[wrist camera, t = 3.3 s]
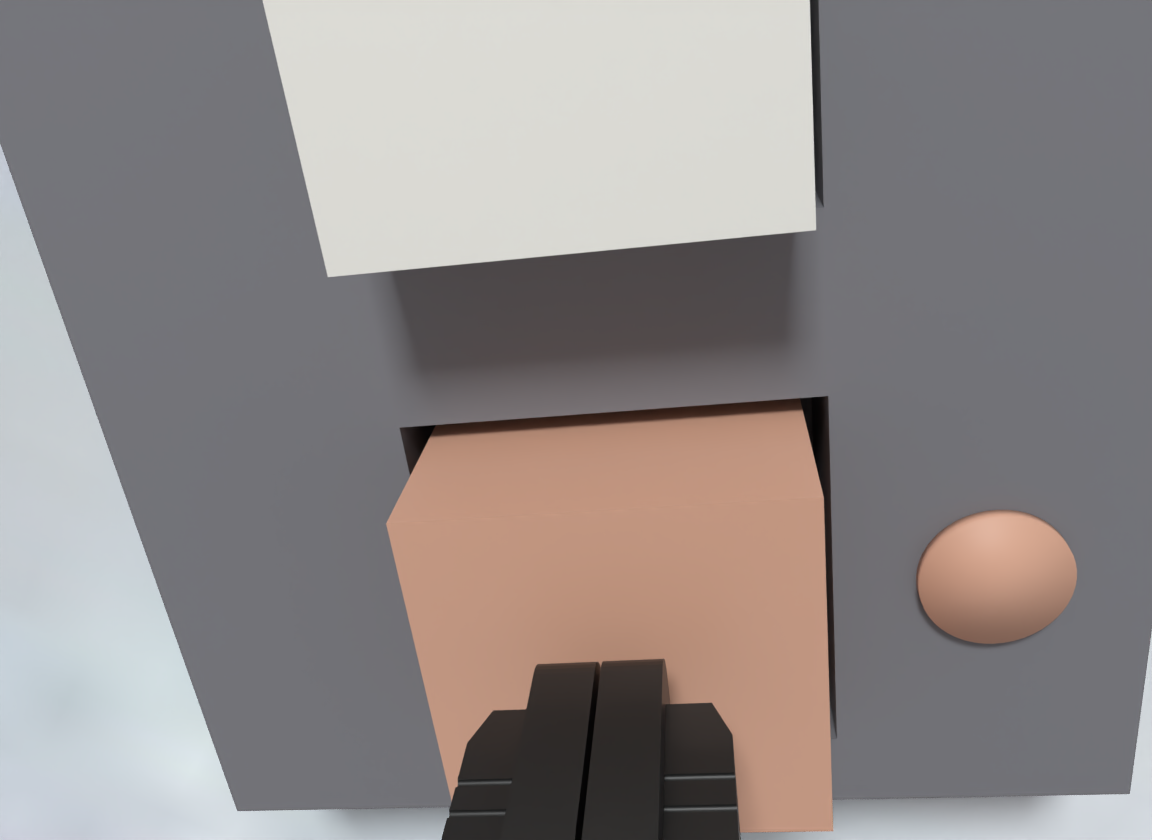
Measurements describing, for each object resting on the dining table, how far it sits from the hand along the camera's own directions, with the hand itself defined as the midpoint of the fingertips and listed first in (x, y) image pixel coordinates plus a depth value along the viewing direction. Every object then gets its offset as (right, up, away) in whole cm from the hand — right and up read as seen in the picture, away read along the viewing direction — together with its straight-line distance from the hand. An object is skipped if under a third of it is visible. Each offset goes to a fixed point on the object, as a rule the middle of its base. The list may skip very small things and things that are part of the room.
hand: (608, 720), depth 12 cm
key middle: (-1, +9, 0) cm, 9 cm away
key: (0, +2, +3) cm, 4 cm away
